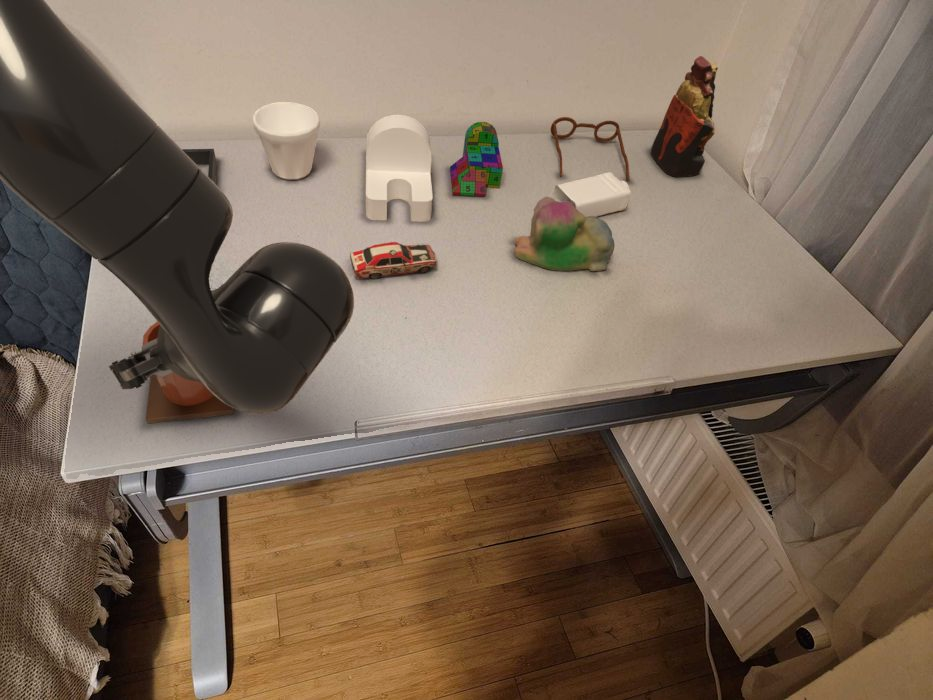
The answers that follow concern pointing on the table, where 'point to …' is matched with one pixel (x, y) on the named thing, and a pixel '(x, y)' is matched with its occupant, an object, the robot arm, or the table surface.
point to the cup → (288, 137)
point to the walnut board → (180, 407)
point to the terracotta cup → (178, 381)
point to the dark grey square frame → (204, 160)
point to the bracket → (398, 167)
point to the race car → (392, 260)
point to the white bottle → (594, 194)
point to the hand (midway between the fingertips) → (180, 344)
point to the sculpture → (565, 239)
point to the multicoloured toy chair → (477, 162)
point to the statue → (687, 123)
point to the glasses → (575, 125)
